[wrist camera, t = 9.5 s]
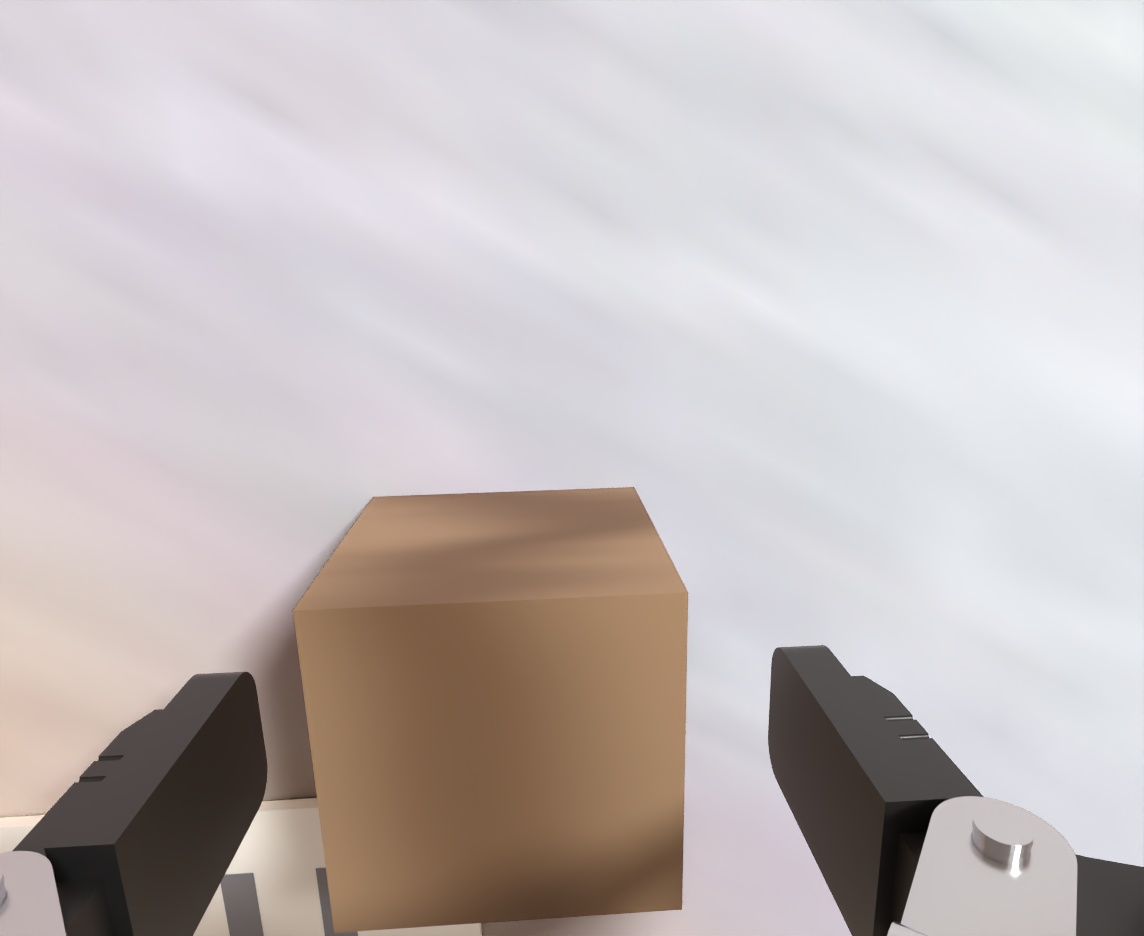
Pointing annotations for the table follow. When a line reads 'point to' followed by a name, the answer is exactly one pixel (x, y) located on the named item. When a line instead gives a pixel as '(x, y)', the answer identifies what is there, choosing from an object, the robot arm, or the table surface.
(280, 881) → the letter
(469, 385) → the table surface
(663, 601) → the walnut block
